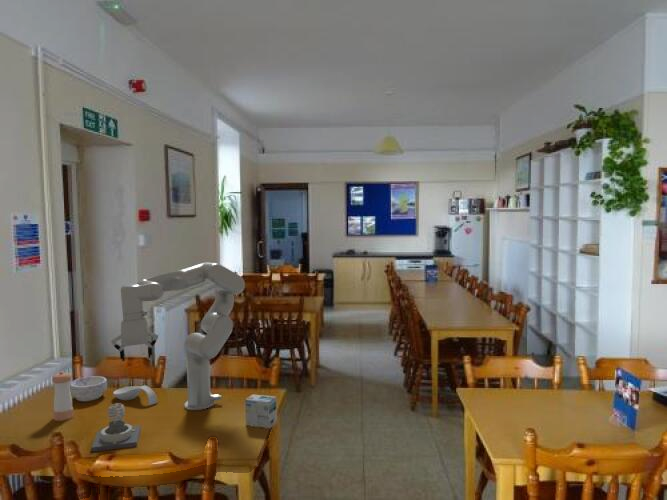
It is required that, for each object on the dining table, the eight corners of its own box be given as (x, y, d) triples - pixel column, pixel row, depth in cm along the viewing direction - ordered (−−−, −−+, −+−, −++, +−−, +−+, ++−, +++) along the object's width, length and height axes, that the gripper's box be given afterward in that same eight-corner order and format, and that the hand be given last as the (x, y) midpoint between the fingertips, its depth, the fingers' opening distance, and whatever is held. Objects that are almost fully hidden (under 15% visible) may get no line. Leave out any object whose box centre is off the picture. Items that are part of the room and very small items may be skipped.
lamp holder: (140, 429, 201) (140, 419, 200) (136, 446, 186) (136, 435, 186) (98, 434, 197) (97, 424, 196) (91, 451, 182) (90, 440, 182)
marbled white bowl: (98, 404, 229) (97, 386, 228) (63, 404, 229) (62, 386, 228) (113, 392, 244) (112, 375, 243) (81, 392, 244) (80, 375, 244)
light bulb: (112, 433, 194) (110, 401, 193) (127, 432, 194) (126, 400, 194) (107, 439, 188) (105, 407, 188) (123, 438, 189) (121, 406, 188)
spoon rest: (107, 400, 234) (107, 384, 234) (129, 392, 244) (129, 377, 244) (143, 409, 222) (142, 393, 222) (165, 400, 232) (164, 385, 232)
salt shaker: (77, 415, 216) (75, 370, 214) (61, 422, 209) (59, 375, 208) (65, 413, 219) (63, 368, 217) (49, 419, 212) (47, 373, 211)
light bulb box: (277, 422, 206) (277, 396, 205) (270, 429, 199) (269, 401, 199) (253, 419, 209) (252, 393, 209) (245, 426, 203) (244, 399, 202)
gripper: (156, 311, 210) (159, 353, 211) (110, 316, 204) (114, 358, 206) (156, 315, 202) (159, 358, 204) (108, 320, 197) (112, 364, 199)
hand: (136, 358), depth 205 cm, fingers open, 9 cm apart
